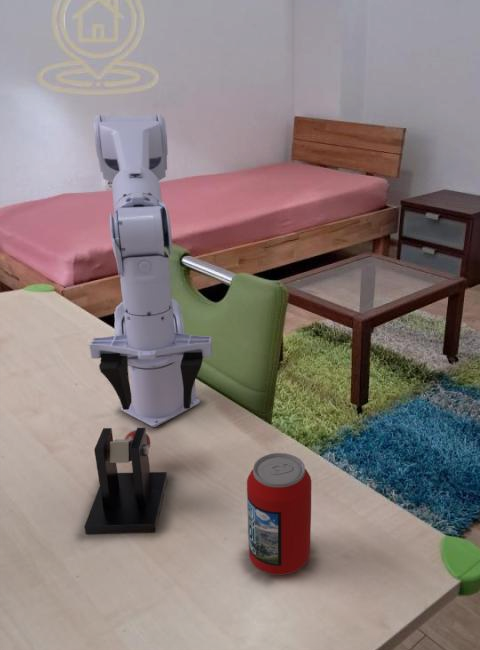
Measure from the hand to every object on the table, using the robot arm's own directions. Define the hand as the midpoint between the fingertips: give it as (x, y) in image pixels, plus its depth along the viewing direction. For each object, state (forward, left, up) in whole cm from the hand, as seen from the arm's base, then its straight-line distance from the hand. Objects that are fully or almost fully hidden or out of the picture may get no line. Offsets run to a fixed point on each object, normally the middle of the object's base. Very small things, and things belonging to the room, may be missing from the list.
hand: (157, 405), depth 81 cm
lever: (+6, +1, -5) cm, 8 cm away
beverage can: (+3, +23, -10) cm, 25 cm away
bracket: (+8, +3, -9) cm, 13 cm away
